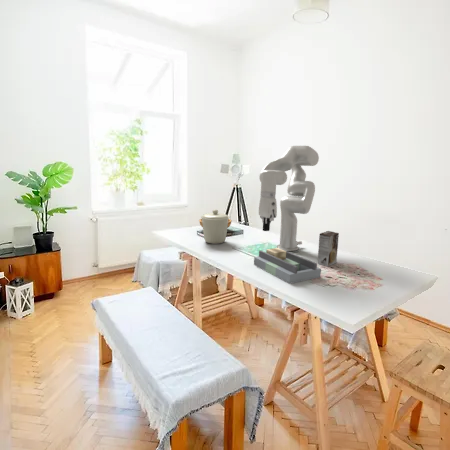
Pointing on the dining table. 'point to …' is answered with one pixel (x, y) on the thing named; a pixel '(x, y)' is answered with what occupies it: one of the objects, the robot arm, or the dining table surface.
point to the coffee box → (328, 248)
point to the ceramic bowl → (228, 222)
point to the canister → (215, 227)
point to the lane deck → (288, 267)
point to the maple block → (277, 253)
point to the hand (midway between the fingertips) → (266, 230)
